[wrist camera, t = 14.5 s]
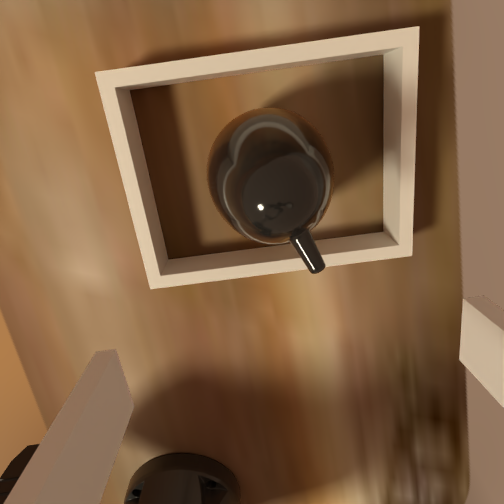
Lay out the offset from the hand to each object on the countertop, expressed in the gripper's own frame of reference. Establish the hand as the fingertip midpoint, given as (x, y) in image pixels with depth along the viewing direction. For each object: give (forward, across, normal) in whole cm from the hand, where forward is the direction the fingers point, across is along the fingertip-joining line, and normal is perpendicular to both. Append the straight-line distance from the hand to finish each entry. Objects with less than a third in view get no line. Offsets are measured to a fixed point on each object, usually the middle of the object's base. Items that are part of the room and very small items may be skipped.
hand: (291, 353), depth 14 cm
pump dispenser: (+23, +1, +4) cm, 24 cm away
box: (+23, +1, +4) cm, 24 cm away
